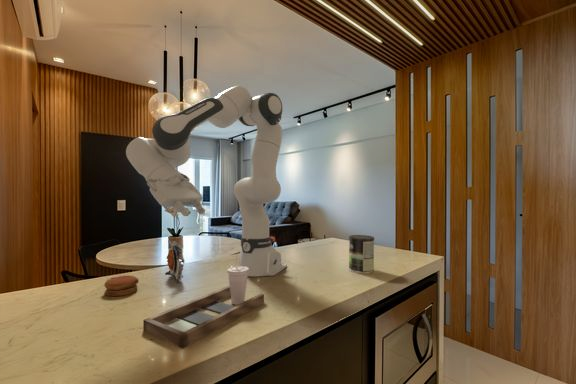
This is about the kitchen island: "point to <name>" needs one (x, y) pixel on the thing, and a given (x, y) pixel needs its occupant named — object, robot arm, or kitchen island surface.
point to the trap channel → (197, 318)
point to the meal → (175, 261)
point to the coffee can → (361, 253)
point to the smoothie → (237, 282)
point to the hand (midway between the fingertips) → (195, 213)
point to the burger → (121, 285)
